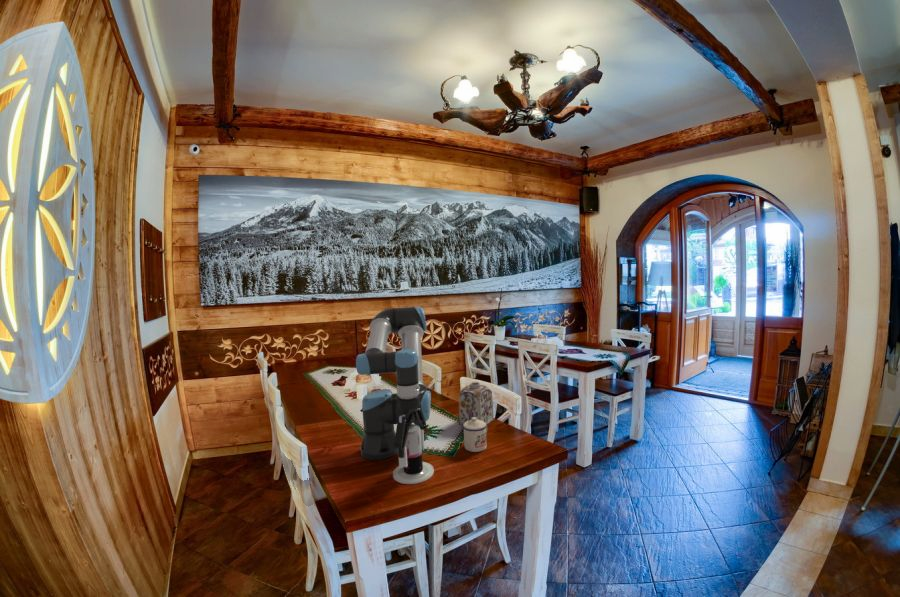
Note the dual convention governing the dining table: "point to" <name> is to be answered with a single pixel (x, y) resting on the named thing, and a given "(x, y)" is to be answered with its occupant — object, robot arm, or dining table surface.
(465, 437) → the teacup with lid
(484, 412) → the decorative jar
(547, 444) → the dining table surface
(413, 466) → the beverage can
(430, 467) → the plate
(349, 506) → the dining table surface
